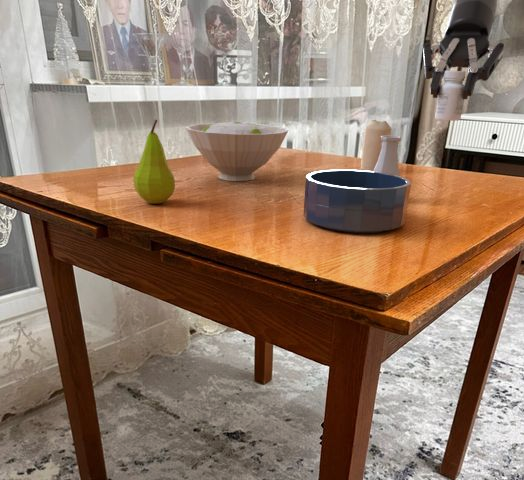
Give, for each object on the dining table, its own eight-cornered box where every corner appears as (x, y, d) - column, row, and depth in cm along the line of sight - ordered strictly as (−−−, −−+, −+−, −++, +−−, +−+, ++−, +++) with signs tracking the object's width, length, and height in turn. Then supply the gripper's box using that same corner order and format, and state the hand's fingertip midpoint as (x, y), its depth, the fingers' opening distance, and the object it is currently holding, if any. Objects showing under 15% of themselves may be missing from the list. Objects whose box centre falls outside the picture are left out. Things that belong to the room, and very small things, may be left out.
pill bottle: (458, 119, 98) (466, 71, 94) (461, 121, 94) (470, 71, 90) (433, 118, 98) (440, 70, 95) (435, 120, 94) (443, 70, 91)
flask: (369, 204, 87) (377, 138, 83) (355, 195, 94) (362, 133, 89) (411, 204, 88) (421, 139, 84) (395, 195, 95) (403, 134, 90)
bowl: (253, 192, 93) (255, 130, 89) (165, 178, 102) (162, 121, 97) (302, 176, 108) (306, 122, 104) (222, 165, 117) (222, 115, 112)
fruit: (126, 202, 84) (119, 118, 78) (158, 196, 88) (153, 116, 83) (153, 209, 80) (147, 122, 75) (184, 203, 84) (181, 120, 79)
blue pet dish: (415, 219, 80) (422, 177, 77) (386, 242, 69) (393, 194, 66) (326, 205, 86) (329, 166, 83) (286, 225, 75) (289, 180, 72)
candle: (391, 170, 118) (397, 120, 113) (377, 173, 114) (383, 122, 109) (369, 167, 121) (375, 118, 116) (355, 169, 117) (360, 119, 113)
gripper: (430, 0, 96) (407, 76, 92) (517, -2, 91) (496, 79, 87) (431, 36, 103) (408, 109, 99) (511, 36, 97) (492, 113, 93)
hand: (450, 94), depth 93 cm, fingers closed on pill bottle, 4 cm apart
